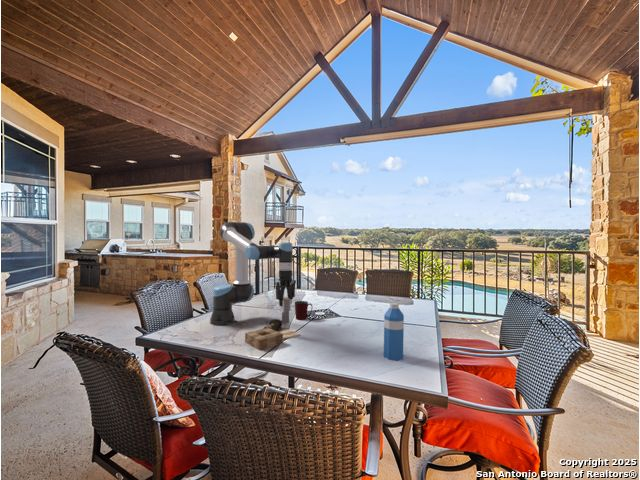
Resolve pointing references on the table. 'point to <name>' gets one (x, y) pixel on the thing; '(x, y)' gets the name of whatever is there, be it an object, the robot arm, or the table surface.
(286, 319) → the plug
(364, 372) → the table surface
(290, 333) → the light brown wooden board
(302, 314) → the mug
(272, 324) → the brown lumpy club
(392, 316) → the water bottle
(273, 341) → the socket block
